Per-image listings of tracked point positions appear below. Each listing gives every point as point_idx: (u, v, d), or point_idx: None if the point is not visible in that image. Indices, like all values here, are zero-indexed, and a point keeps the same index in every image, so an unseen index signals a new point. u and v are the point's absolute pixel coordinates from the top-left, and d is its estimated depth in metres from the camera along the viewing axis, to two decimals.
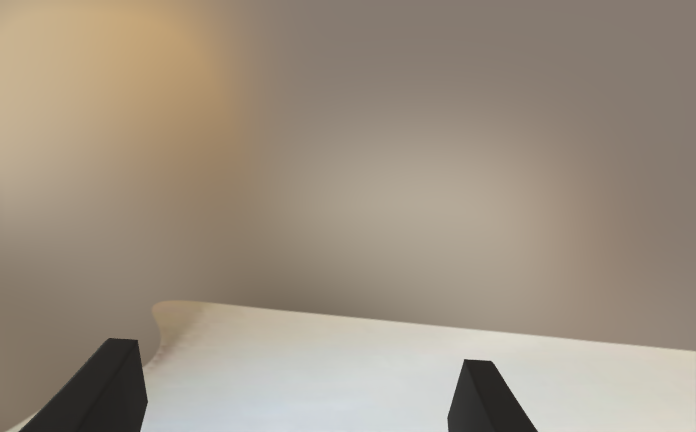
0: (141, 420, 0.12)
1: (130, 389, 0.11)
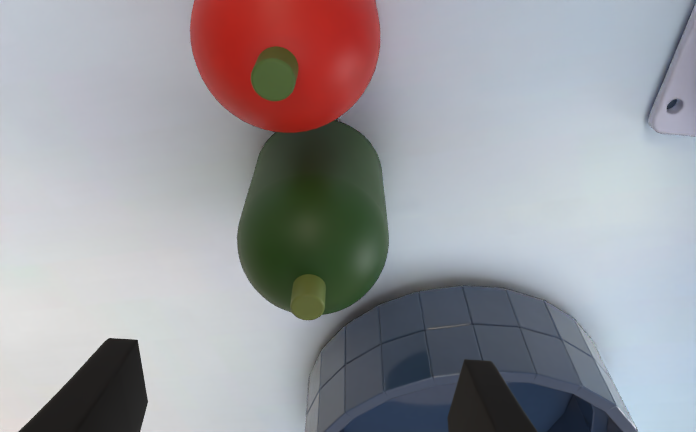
0: (141, 420, 0.12)
1: (130, 389, 0.11)
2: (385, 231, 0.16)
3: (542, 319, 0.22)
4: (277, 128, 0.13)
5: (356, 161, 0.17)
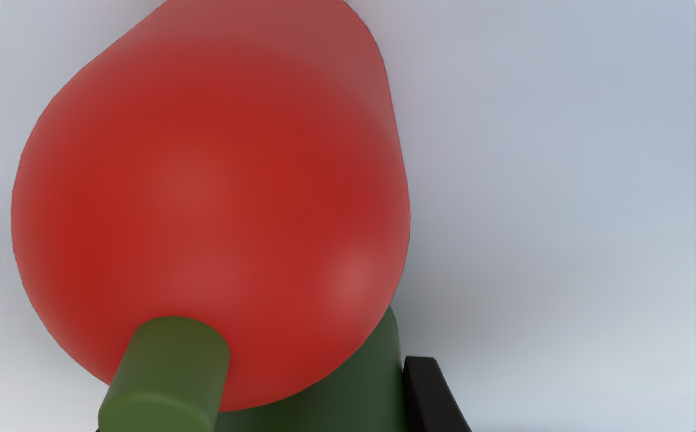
0: None
1: None
2: None
3: None
4: None
5: (361, 356, 0.11)
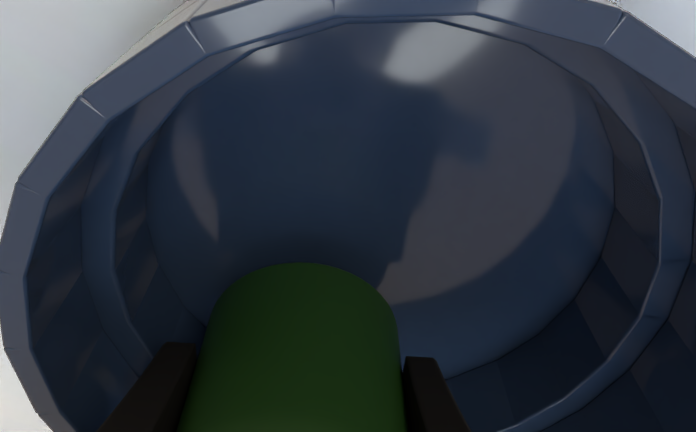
0: None
1: None
2: None
3: None
4: None
5: (361, 357, 0.11)
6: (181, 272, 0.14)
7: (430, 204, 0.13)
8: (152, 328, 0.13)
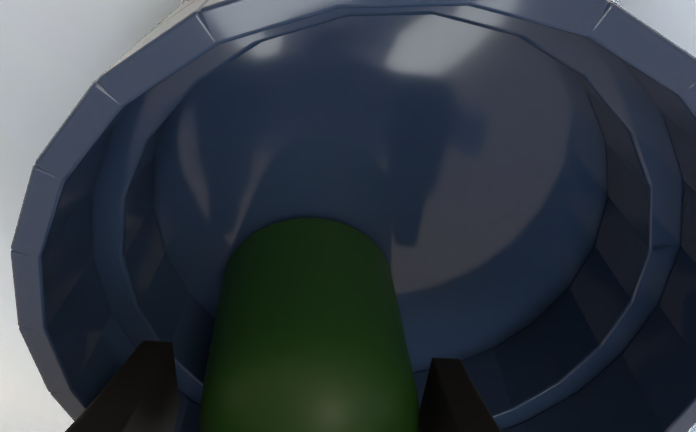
0: (174, 422, 0.12)
1: (166, 391, 0.11)
2: (416, 402, 0.11)
3: None
4: None
5: (367, 291, 0.12)
6: (186, 260, 0.15)
7: (428, 193, 0.14)
8: (159, 313, 0.14)
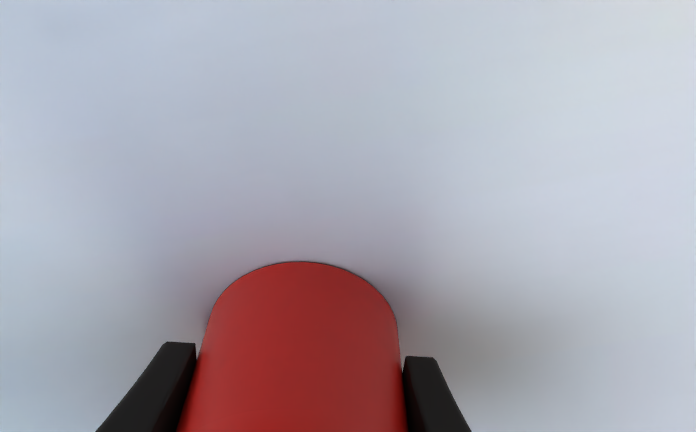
0: None
1: None
2: None
3: None
4: None
5: None
6: None
7: None
8: None
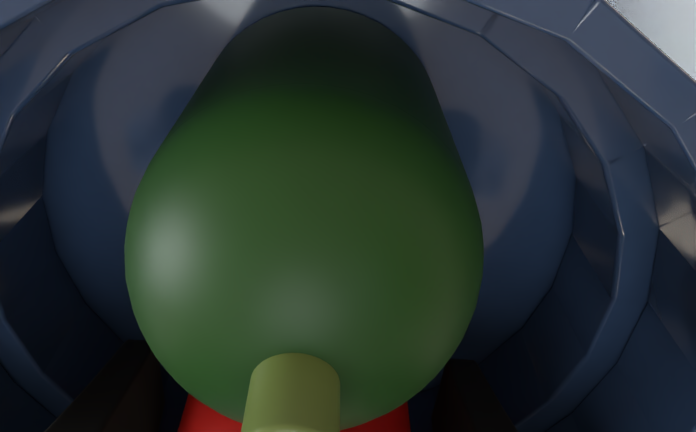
0: (159, 421, 0.12)
1: (149, 390, 0.11)
2: None
3: None
4: None
5: None
6: (482, 55, 0.10)
7: None
8: None
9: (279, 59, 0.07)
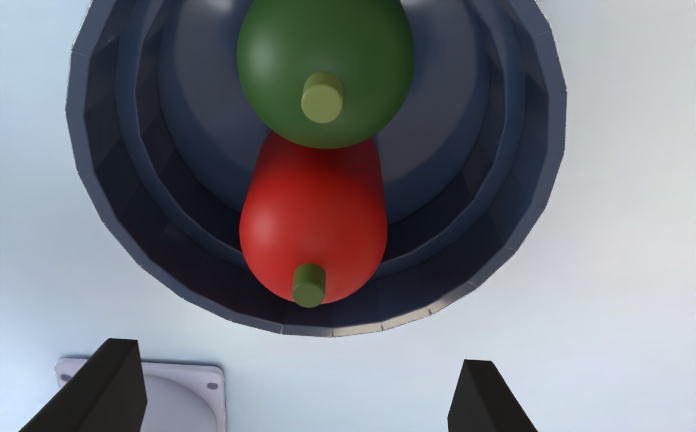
0: (141, 420, 0.12)
1: (130, 389, 0.11)
2: None
3: None
4: (316, 209, 0.15)
5: None
6: None
7: None
8: None
9: None
